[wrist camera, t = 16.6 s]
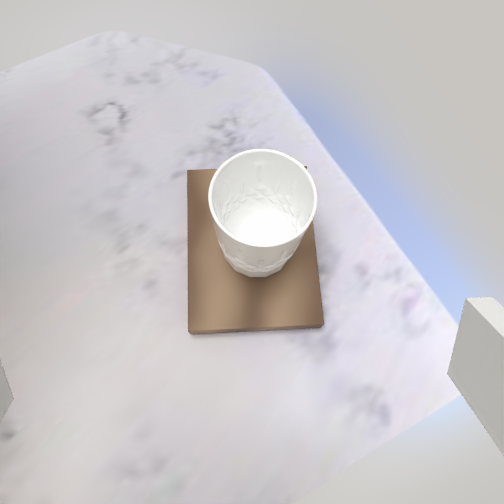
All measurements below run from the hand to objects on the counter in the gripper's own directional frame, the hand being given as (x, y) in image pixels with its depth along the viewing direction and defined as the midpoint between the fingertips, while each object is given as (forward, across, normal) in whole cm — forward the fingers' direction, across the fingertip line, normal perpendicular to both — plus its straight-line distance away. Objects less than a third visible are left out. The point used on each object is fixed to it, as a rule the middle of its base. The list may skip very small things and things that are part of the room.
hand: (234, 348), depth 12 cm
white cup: (+27, +3, -9) cm, 28 cm away
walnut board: (+28, +2, -10) cm, 30 cm away
